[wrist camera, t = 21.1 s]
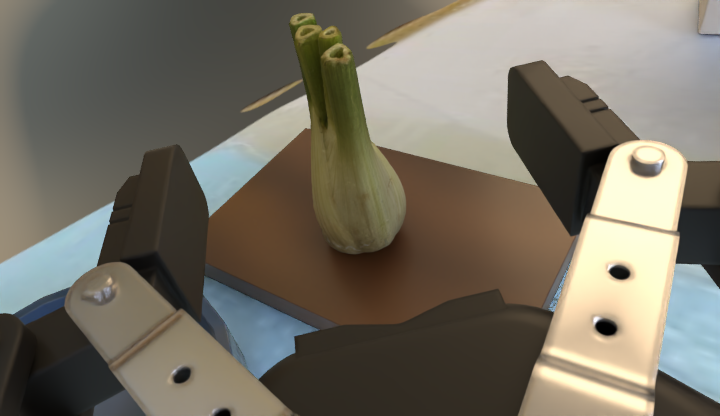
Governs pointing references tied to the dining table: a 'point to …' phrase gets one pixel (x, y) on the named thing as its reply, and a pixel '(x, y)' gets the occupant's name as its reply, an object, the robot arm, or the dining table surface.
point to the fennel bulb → (344, 147)
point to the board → (399, 259)
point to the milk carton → (709, 17)
